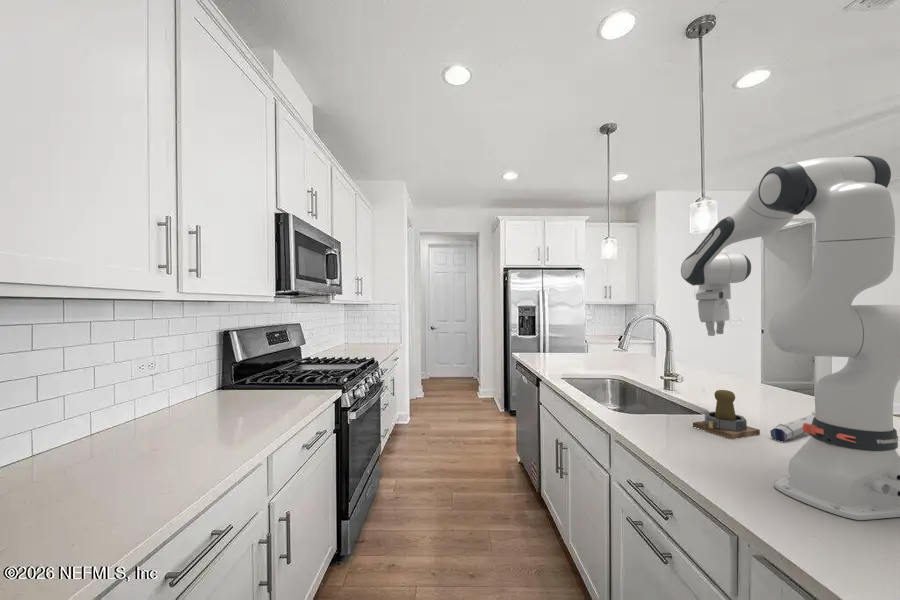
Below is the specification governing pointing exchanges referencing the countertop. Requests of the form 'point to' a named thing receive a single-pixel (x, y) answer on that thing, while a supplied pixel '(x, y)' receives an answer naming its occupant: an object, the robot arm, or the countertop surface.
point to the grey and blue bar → (790, 428)
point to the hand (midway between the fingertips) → (715, 334)
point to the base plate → (727, 434)
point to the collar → (725, 423)
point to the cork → (725, 405)
